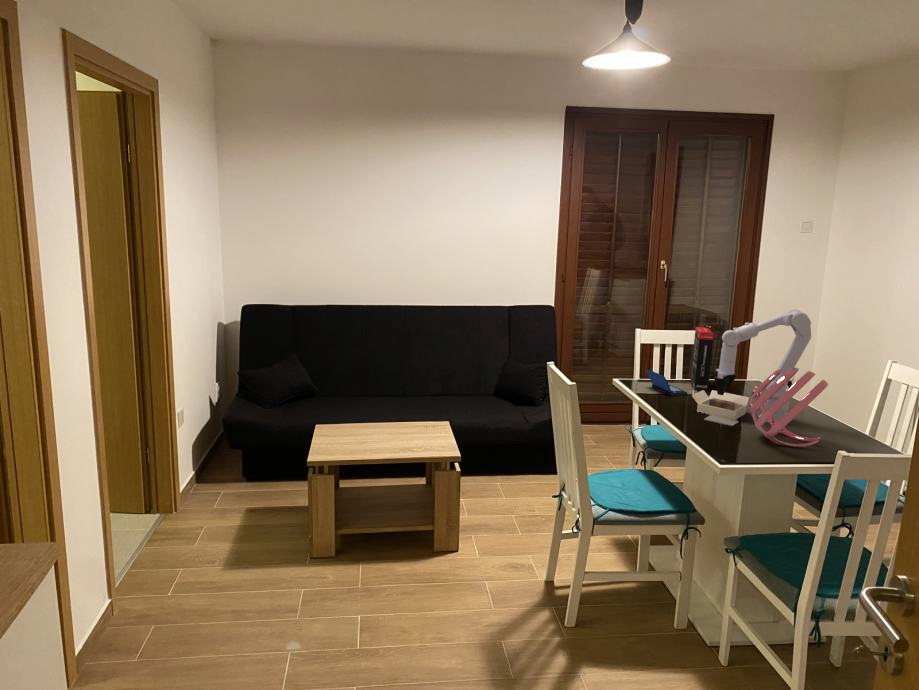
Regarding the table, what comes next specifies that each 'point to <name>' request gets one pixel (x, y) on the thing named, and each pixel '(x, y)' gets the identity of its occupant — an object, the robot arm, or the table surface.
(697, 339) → the graphics card box
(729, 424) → the grey mat
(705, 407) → the carton
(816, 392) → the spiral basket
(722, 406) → the capped block
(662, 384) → the handheld game console
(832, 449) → the table surface
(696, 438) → the table surface
